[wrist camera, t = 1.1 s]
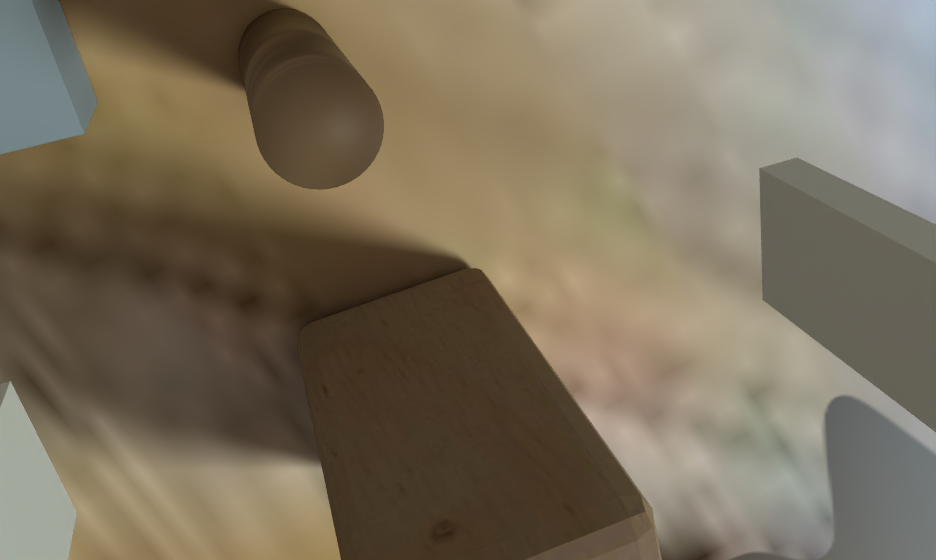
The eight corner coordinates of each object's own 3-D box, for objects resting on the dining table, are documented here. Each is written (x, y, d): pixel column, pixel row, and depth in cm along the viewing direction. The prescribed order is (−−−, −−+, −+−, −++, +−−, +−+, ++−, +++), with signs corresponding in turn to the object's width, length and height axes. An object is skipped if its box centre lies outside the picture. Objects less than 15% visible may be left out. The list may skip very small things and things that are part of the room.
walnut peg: (254, 113, 39) (275, 203, 28) (226, 20, 37) (237, 81, 26) (342, 90, 39) (396, 171, 29) (320, -1, 37) (367, 49, 27)
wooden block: (288, 321, 43) (350, 629, 26) (479, 255, 44) (662, 504, 27) (348, 474, 48) (435, 824, 30) (520, 410, 49) (698, 709, 32)
